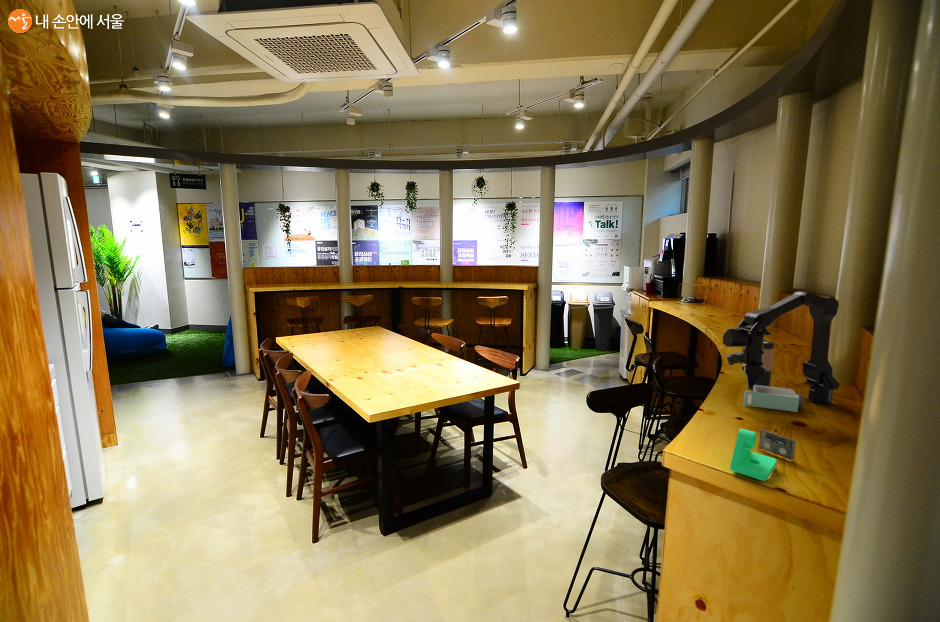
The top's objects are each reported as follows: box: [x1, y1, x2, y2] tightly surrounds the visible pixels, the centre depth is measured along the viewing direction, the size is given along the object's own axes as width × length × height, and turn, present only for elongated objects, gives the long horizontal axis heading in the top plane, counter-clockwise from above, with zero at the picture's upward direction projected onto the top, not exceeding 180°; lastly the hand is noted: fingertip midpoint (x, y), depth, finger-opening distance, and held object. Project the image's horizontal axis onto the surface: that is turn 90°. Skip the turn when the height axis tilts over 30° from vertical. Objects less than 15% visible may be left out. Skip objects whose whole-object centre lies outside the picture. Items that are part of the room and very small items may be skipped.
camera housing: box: [752, 385, 805, 412], centre depth 159 cm, size 14×10×6 cm
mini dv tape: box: [758, 429, 796, 460], centre depth 120 cm, size 8×2×6 cm, turn 26°
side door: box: [743, 390, 799, 413], centre depth 155 cm, size 16×2×5 cm, turn 64°
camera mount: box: [729, 428, 778, 481], centre depth 111 cm, size 12×8×10 cm, turn 134°
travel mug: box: [748, 339, 775, 391], centre depth 177 cm, size 8×8×20 cm
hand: (750, 387), depth 162 cm, fingers closed
